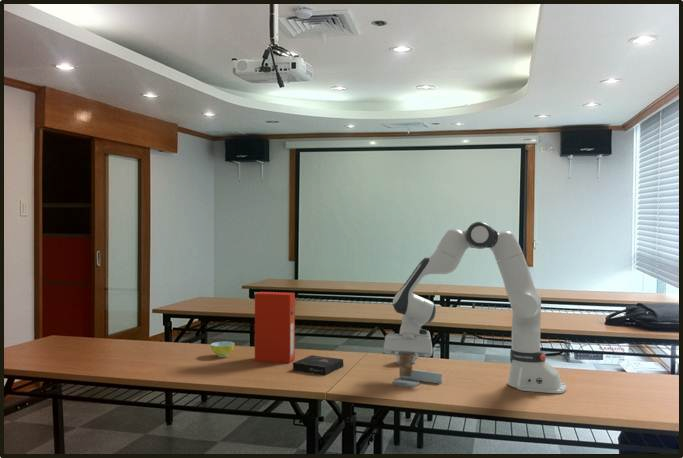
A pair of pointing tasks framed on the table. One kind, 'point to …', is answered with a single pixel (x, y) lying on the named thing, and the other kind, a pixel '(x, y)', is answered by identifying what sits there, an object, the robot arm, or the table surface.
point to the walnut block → (405, 365)
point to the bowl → (222, 348)
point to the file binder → (275, 327)
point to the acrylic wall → (424, 376)
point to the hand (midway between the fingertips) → (405, 363)
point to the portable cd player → (318, 365)
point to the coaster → (406, 382)
